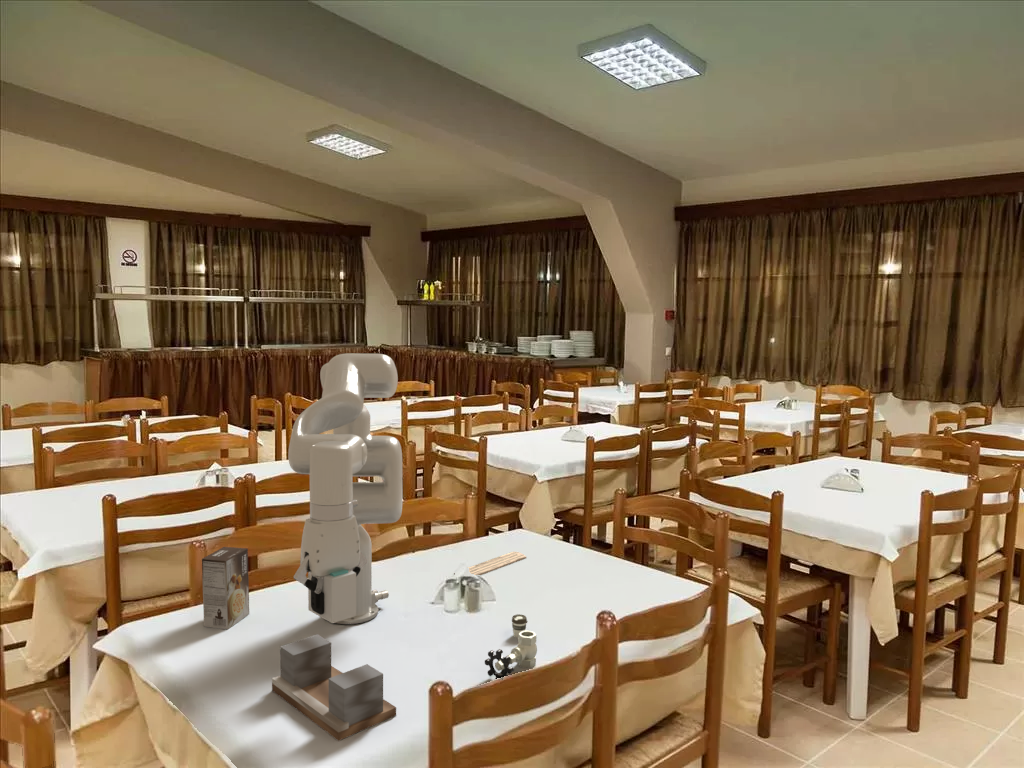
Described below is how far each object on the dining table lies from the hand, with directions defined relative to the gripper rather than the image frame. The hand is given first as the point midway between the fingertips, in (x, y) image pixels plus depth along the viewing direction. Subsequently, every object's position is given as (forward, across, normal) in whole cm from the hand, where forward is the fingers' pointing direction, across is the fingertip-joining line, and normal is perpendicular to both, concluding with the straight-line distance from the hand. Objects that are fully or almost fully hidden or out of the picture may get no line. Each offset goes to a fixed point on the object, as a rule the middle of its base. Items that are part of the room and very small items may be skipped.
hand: (331, 606), depth 142 cm
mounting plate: (+19, 0, 0) cm, 19 cm away
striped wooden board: (+19, -73, -35) cm, 83 cm away
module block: (+1, 0, 0) cm, 1 cm away
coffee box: (+19, -2, -48) cm, 52 cm away
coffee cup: (+19, -46, +3) cm, 50 cm away
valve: (+19, -34, +14) cm, 41 cm away
